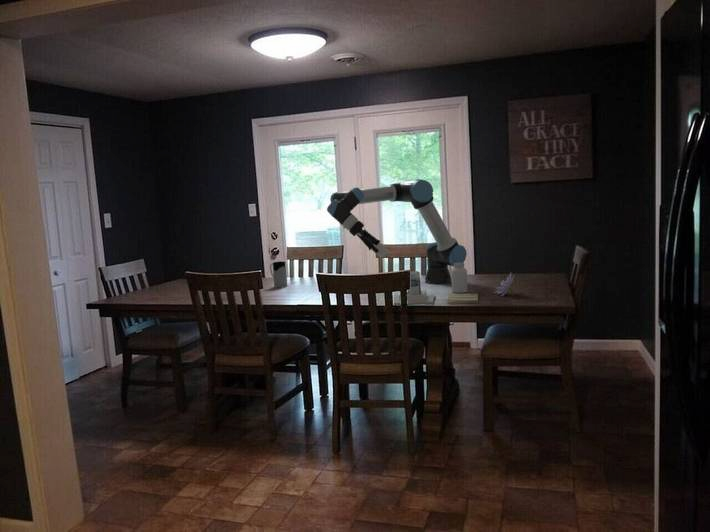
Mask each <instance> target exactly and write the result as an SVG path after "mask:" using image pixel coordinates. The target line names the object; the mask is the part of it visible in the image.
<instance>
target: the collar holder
mask: <svg viewBox="0 0 710 532" xmlns="http://www.w3.org/2000/svg"><path fill="white" fill-rule="evenodd" d="M434 298H436V294H435V293H434V294H433V293H432V294H431V293H429V294H427V290H421V294H412V295H407V300H408V305H407V306H414V305H413V304H434V302H433V301H435V299H434ZM393 299H394V306H395V305H396V306H401V305H400V294H395V295H394V297H393V298H392V300H393Z"/></svg>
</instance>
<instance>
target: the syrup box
mask: <svg viewBox="0 0 710 532" xmlns="http://www.w3.org/2000/svg"><path fill="white" fill-rule="evenodd" d="M409 272H410V290H408V292H407V295H412V294H421V291H422V290H421V274H420V273H421V272H419V271H417V270H412V271H409Z"/></svg>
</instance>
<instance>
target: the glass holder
mask: <svg viewBox="0 0 710 532" xmlns="http://www.w3.org/2000/svg"><path fill="white" fill-rule="evenodd" d="M269 269H270V270H269V271H270V274H271V276H272V278H273V288H274V287H285V288H287V287H286V286H288V287H289V285H288V279H287V267H286V261H275V262H274V261H273V262H272V263H270V265H269Z"/></svg>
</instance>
